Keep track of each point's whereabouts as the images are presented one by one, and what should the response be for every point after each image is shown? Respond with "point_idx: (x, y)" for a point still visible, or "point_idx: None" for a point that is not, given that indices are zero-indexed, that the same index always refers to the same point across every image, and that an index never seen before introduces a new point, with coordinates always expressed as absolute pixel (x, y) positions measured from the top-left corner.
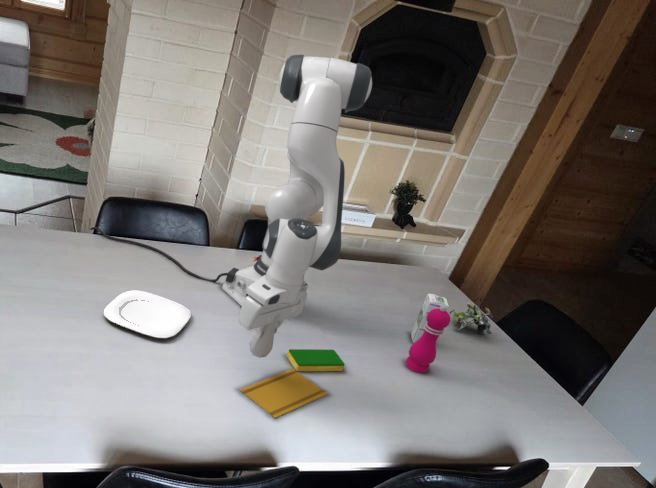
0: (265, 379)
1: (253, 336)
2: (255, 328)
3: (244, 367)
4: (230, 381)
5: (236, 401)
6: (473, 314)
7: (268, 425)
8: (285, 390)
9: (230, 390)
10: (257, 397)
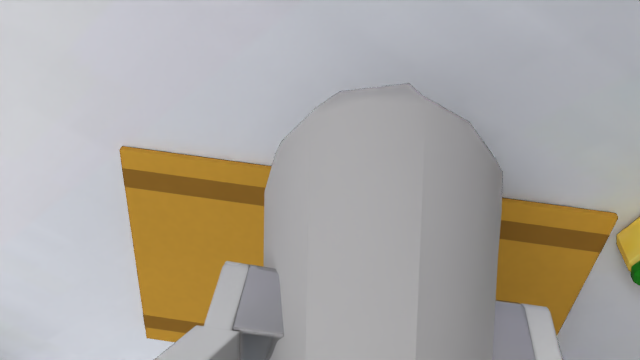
0: None
1: (304, 188)
2: (166, 358)
3: (345, 13)
4: (125, 60)
5: (44, 187)
6: None
7: (90, 335)
8: None
9: (68, 115)
10: (168, 236)
